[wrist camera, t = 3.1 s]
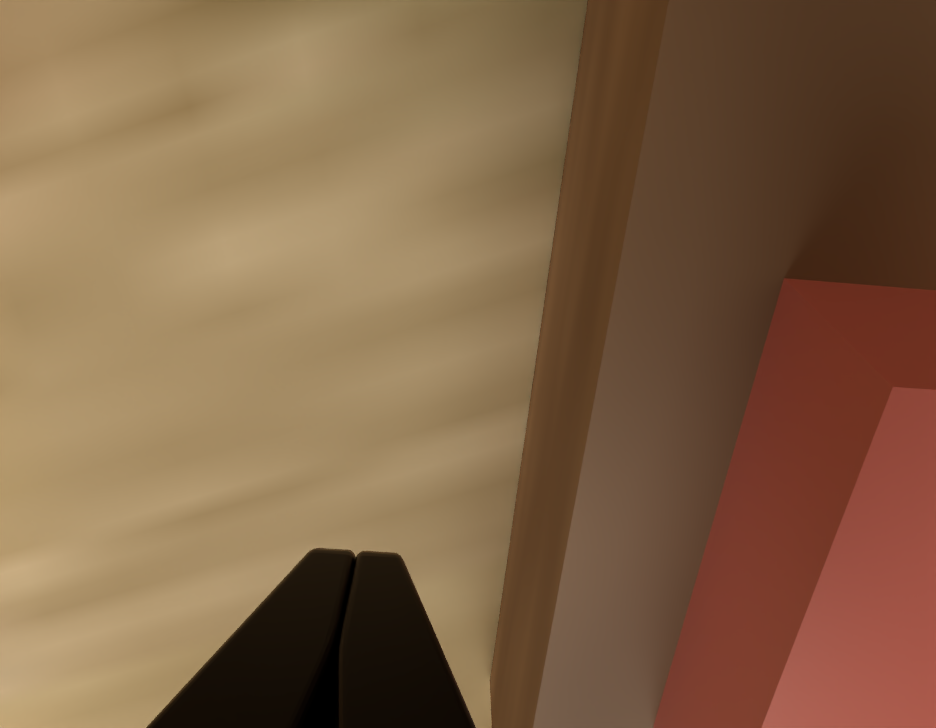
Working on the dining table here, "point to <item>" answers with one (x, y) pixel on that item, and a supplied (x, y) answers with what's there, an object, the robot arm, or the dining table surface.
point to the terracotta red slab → (823, 528)
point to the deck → (690, 305)
